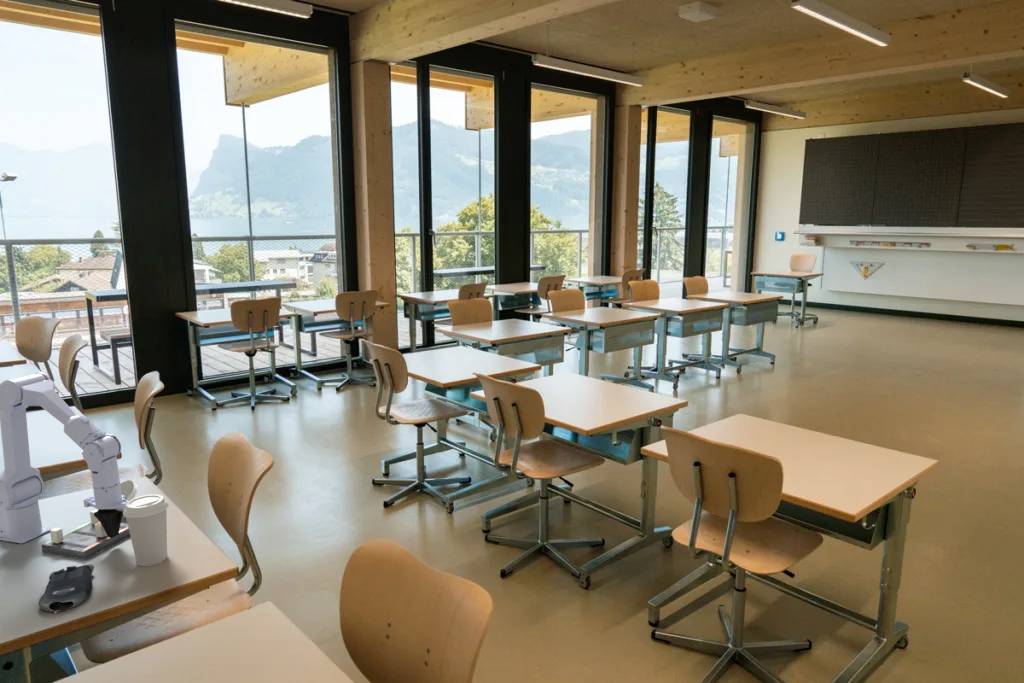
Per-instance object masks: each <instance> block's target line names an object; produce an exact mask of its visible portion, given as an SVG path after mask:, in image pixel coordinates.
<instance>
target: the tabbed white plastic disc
mask: <svg viewBox="0 0 1024 683" xmlns="http://www.w3.org/2000/svg"><path fill="white" fill-rule="evenodd" d="M120 487H121V495H124V496H125V499H126V500H127V501H130V500H132V499H134V498H136V496H137V493H138V490H139V486H138V485H137V483H135V482H133V481H132V480H128V479H127V480H125V481H123V482H120ZM97 510H99V509H97Z"/></svg>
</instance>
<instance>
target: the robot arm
mask: <svg viewBox="0 0 1024 683" xmlns="http://www.w3.org/2000/svg"><path fill="white" fill-rule="evenodd" d="M29 407H41V408H42V409H43V410H45V411H46V412H47V413H48V414H49V415H51V416H52V417H54V418H55V419H56V420H58V421H59V422H60V423H61V424H63V433H64V434H65V435H66V436H67V437H69V439H71V441H73V442H74V443H75V444H76V445H77V446H78V447H79V448H80V449H81V450H82V452H81V455H82V458H83V460H84V461H85V462H86V464H87V469H88V470H89V471H90V473H91V481H92V489H93V496H89V497H86V498H84V499H82V500H83V507H84V508H89V507H93V508H95V510H98V509H99V510H98V511H97V512H95V513H94V516H95V517H96V518H97V519H98V520H99V521H100V523H101V524H102V526H103V528H104V530H105V532H106V534H107V536H108V537H109V538H113V537H115V536H117V535H119V529H120V524H121V523H122V520H123V517H124V516H123V510H124V508H125V506H126V503H127V502H128V501H127V500H126V499H125V496H124V495H121V487H120V484H121V482H120V473H119V466H118V465H119V464H118V459H117V456H118V455H120V453H121V451H122V444H121V442H120V440H119V439H118V438H117V436H116V435H114V434H111V433H107V432H106V431H102V430H101V429H100V428H98V427H97V426H96V425H95V423H94V422H92V421H91V419H89V418H88V417H87V416H85V415H77V414H76V413H75V412H74V411H73V409H72V408H71V407H70V405H68V403H66V402H65V400H64V399H63V398H62V397H61V396H60V395H59V394H58V393H57V392H56V384H55V382H54V381H53V380H52V379H51V378H50V377H49V376H48V374H47V373H44V372H41V371H40V372H36V373H34V374H29V375H26V376H21V377H15V378H13V379H12V378H11V379H6V380H3V381H2V382H1V383H0V433H1V434H0V435H1V445H2V454H3V465H4V469H3V470H2V472H1V473H0V541H4V542H10V543H17V544H24V543H26V542H28V541H30V540H34V539H35V538H38V537H40V536H42V535H44V534H46V533H49V532H50V530H52V528H49V527H43V525H42V524H43V523H42V519H41V517H42V516H41V513H40V505H39V500H40V499H41V495H42V494H43V492H44V490H45V483H44V481H43V478H42V476H41V470H40V469H38V468H36V467H33V466H31V465H32V464H31V455H30V454H31V453H30V444H29V433H28V422H27V421H28V420H27V412H26V411H27V408H29Z"/></svg>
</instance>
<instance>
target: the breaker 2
mask: <svg viewBox="0 0 1024 683" xmlns="http://www.w3.org/2000/svg"><path fill="white" fill-rule="evenodd" d="M97 511H98V509H93V510H91V511H89V516H90V521H91V523H92V524H97V523H98V522H100V521H99V520H98V519H97V518H96V517H95V516H94V513H95V512H97Z"/></svg>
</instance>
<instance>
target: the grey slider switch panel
mask: <svg viewBox="0 0 1024 683" xmlns="http://www.w3.org/2000/svg"><path fill="white" fill-rule="evenodd" d="M128 537H131V536H130V532H129V528H128V524H127V523H125V522H121V524H120V529H119V535H117V536H115V537H113V538H109V537H108V536H107V535H106V536H104V537H96V532H95V524H92V523H91V520H89V521H87V522H86V523H83V524H82V525H79V526H77V527H75V528H73V529H71V530H68V531H67V532H64V533H63V539H64V541H62V542H60V543H53V542H52V541H51V539H50V540H48V541H45V542H44V543H41V544H40V545H41V551H42V553H47V554H50V555H51V554H53V555H58V556H63V557H69V558H74V559H75V558H76V559H79V560H87V559H89V558H92V557H93V556H95V555H96V554H98V553H100V552H102V551H104V550H106V549H108V548H109V547H111V546H113V545H115V544H117V543H119V542H121V541H123V540H125V539H127V538H128Z"/></svg>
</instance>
